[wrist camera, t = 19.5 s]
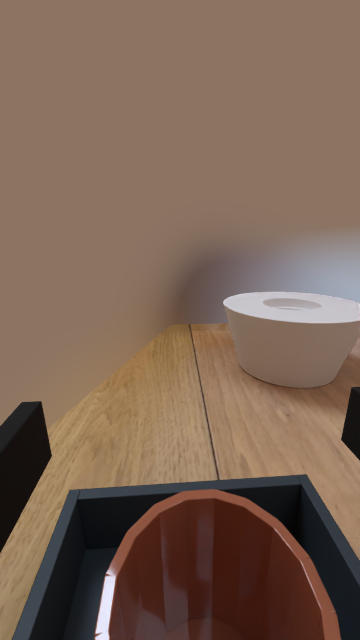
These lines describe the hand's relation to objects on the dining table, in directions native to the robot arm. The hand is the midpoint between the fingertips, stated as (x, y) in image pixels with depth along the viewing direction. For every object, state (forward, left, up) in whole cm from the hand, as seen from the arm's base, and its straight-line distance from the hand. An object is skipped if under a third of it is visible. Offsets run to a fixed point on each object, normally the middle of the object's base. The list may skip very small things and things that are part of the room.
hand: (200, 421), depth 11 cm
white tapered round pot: (+21, +35, -16) cm, 43 cm away
